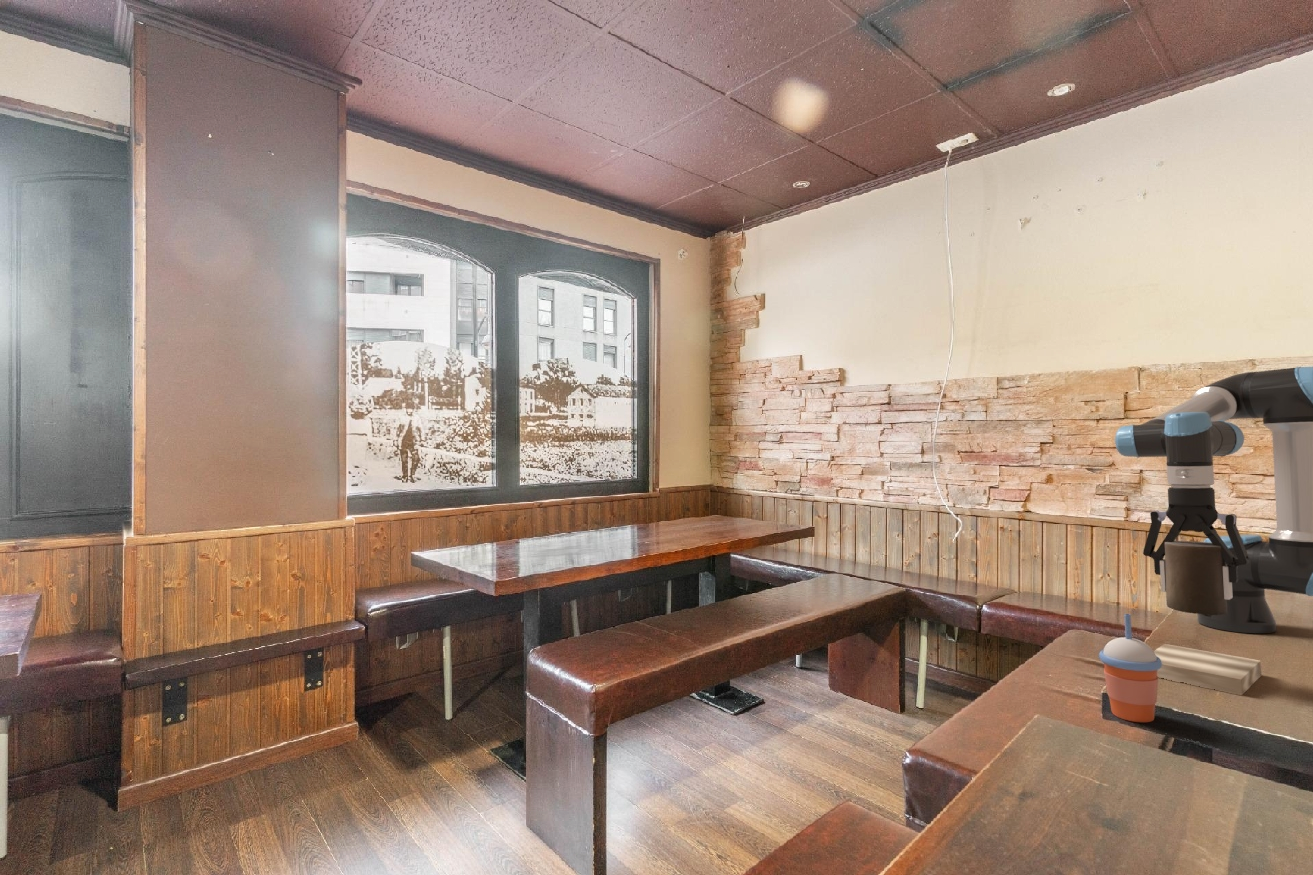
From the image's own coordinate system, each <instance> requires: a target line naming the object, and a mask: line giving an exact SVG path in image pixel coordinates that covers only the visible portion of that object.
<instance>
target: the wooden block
mask: <svg viewBox="0 0 1313 875" xmlns="http://www.w3.org/2000/svg"><path fill="white" fill-rule="evenodd" d="M1153 651H1154V653H1155V655H1156V656H1157V657H1159V658H1160V660H1161V662H1162V667H1161V668H1160V669H1158V670H1157V676H1158V677H1159V678H1158V679H1161V678H1164V679H1163V680H1166V679H1167V680H1168V681H1171V680H1172V681H1173V682H1176V683H1180V682H1184V683H1183V684H1185V683H1187V685H1190V684H1191V686H1196V687H1199V686H1200V687H1201V688H1205V689H1210V690H1214V689H1215V690H1214V691H1219V692H1224V693H1227V694H1228V693H1229V694H1233V695H1238V696H1243V695H1244V694H1245V693H1246V691H1248V690H1249V689H1250V688H1251V686H1253V685H1254V683H1256V681H1258V680H1259V678H1261V676H1262V663H1261V660H1258V659H1253V658H1247V657H1242V656H1238V655H1237V656H1236V655H1230V654H1225V653H1220V652H1214V651H1207V650H1204V649H1203V650H1201V649H1197V648H1191V647H1185V646H1179V645H1174V644H1168V643H1163V644H1162V645H1160V646H1159V647H1157V648H1156V649H1155V650H1153ZM1167 680H1166V681H1167Z"/></svg>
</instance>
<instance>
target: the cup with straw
mask: <svg viewBox="0 0 1313 875" xmlns="http://www.w3.org/2000/svg"><path fill="white" fill-rule="evenodd" d="M1131 617H1132V615H1131V614H1130V613H1125V614H1124V629H1125V630H1124V631H1125V632H1124V633H1125V634H1124V635H1125V636H1124V637H1115V638H1114V639H1112V640H1110V641H1108V642H1107V644H1105V646H1104V648H1103V649H1102V650H1100V651H1099V654H1098V658H1099V660H1100V661H1101V662H1102V663H1103V664H1104V666H1103V667H1104V669H1103V673H1104V680H1105V685H1106V693H1107V695H1108V698H1109V699H1108V700H1109V703H1110V711H1111V713H1112V714H1113V715H1114V716H1115V717H1117V718H1119V719H1122V720H1125V721H1129V722H1134V723H1151V722H1153V721H1154V720H1155V712H1156V711H1155V710H1156V704H1157V702H1158V690H1159V689H1158V688H1159V687H1158V686H1159V678H1158V676H1157V670H1158V669H1160V668H1161V667H1162V662H1161V660H1160V658H1159V657H1157V656H1156V655H1155V653H1154V650H1153V648H1152V647H1150V645H1149V644H1147V643H1145V642H1144V641H1143V640H1140V639H1137V638H1133V636H1132V635H1133V634H1132V618H1131Z"/></svg>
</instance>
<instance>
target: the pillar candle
mask: <svg viewBox="0 0 1313 875" xmlns="http://www.w3.org/2000/svg"><path fill="white" fill-rule="evenodd" d="M1191 538H1192V540H1174V541H1173V542H1165V556H1164V559H1165V568H1166V592H1165V597H1166V606H1167V608H1169V609H1172V610H1174V611H1177V612H1181V613H1187V614H1194V615H1195V614H1196V615H1197V614H1205V615H1222V614H1226V613H1227V599H1224V585H1223V566H1225V561H1224V559H1223V558H1222V556H1221V546H1215V545H1213V544H1212V543H1210V542H1203V541H1197V540H1196V541H1195V539H1194V537H1193V536H1192V537H1191Z"/></svg>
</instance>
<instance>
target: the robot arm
mask: <svg viewBox="0 0 1313 875" xmlns="http://www.w3.org/2000/svg"><path fill="white" fill-rule="evenodd" d="M1238 419H1240V420H1241V419H1262V422H1263V426H1264V427H1266V428H1267V429H1268V430H1270V431H1271V435H1272V454H1273V458H1272V459H1273V476H1274V479H1273V480H1274V496H1275V515H1276V530H1275V531H1273V532H1272V533H1271V534H1269V536H1268V541H1264V539H1263V537H1262V536H1261V535H1260V534H1240V532H1239V529H1238V527H1237V519H1238V518H1237V515H1236V514H1235V513H1234V514H1233V513H1230V514H1227V513H1219V512H1218V510H1217V509H1216V508H1217V507H1216V492H1215V489H1214V488H1213V487H1211V486H1213V485H1214V484H1215V477H1214V460H1213V458H1214V457H1221V458H1223V457H1226V456H1230V455H1233V454H1235V453H1237V452H1238V451H1239V450H1240V449H1241V448H1242V447H1243V444H1244V441H1245V435H1244V433H1243V431H1242V429H1241V428H1240V427H1239V426H1238V425H1236V424H1235V423H1232V422H1229V420H1238ZM1114 444H1115V448H1116V451H1117V452H1118V453H1119V454H1120V455H1121V456H1123V457H1128V458H1129V457H1130V458H1131V457H1132V458H1133V457H1134V458H1135V457H1136V458H1138V459H1139V458H1155V457H1156V458H1159V457H1160V458H1162V457H1164V458H1165V457H1166V480H1167V482H1166V483H1167V485H1169V487H1168V488H1167V500H1168V501H1167V502H1168V508H1167V510H1166V511H1165V510H1162V511H1159V510H1154V511H1151V512H1150V514H1149V515H1150V520H1151V521H1150V526H1149V530H1148V534H1147V537H1146V541H1145V545H1144V548H1143V551H1142V554H1143V555H1144V556H1146V557H1149V558H1151V559H1153V563H1154V564H1153V565H1154V573H1155V575H1159V577H1160V591H1161V592H1164V593H1166V568H1165V542H1173V541H1176V539H1177V537H1178V535H1179V534H1181V533H1182V532H1195V533H1203V534H1204V535H1205V536H1206V537H1207V538H1205V539H1204V540H1203V541H1202V542H1210V543H1212V544H1213V545H1215V546H1221V556H1222V558H1223V559H1224V561H1225V566H1223V585H1224V599H1227V613H1226V614H1222V615H1205V614H1196V615H1197V623H1199V624H1200V625H1203V626H1205V627H1209V628H1212V629H1216V630H1220V631H1221V630H1222V631H1227V632H1235V633H1243V634H1247V633H1248V634H1270V633H1274V632H1276V631H1277V621H1276V619H1275V617H1274V614H1273V612H1272V610H1271V608H1270V606H1269V604H1268V602H1267V600H1266V593H1265V590H1267V591H1278V592H1282V593H1283V592H1285V593H1291V594H1299V595H1306V596H1308V597H1313V366H1296V367H1290V368H1279V369H1278V368H1277V369H1270V370H1269V369H1268V370H1260V371H1248V372H1243V373H1238V374H1233V375H1231V376H1228V377H1225V378H1222V379H1219V380H1217V381H1214V382H1213V383H1212V382H1211V383H1210V384H1208V385H1206V386H1204V387H1202V388H1200V389H1198V390H1197V391H1196V392H1194V393H1193V395H1192V396H1191V398H1190V399H1188V400H1186V401H1184V402H1182V403H1180V404H1179V405H1176V406H1174V407H1173V408H1171V409H1169V410H1167V411H1165V412H1163V413H1161V414H1159V415H1157V416H1156V417H1154V418H1151V419H1150V420H1148V421H1146V422H1144V423H1142V424H1131V425H1129V424H1128V425H1123V426H1120V427H1119V428H1118V429H1117V431H1116V433H1115V435H1114ZM1170 486H1171V487H1170ZM1166 517H1167V518H1168V519H1169V520H1170V521H1171V522H1172V526H1171V527H1170V528H1169V531H1168V533H1167V534H1166V535H1165V537H1164V538H1163V541H1162V542H1161V544H1160V545H1159V546H1158V548H1157V549H1156V551H1155V548H1156V546H1157V545H1156V544H1157V541H1158V538H1159V534H1160V530H1161V527H1162V522H1164V521H1165V519H1166ZM1217 520H1219V521H1220V522H1221V524H1222V525H1225V526H1224V527H1225V529H1226V533H1227V535H1219V534H1218V532H1217V530H1216V529H1215V526H1214V525H1213V524H1215V522H1216V521H1217Z"/></svg>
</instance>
